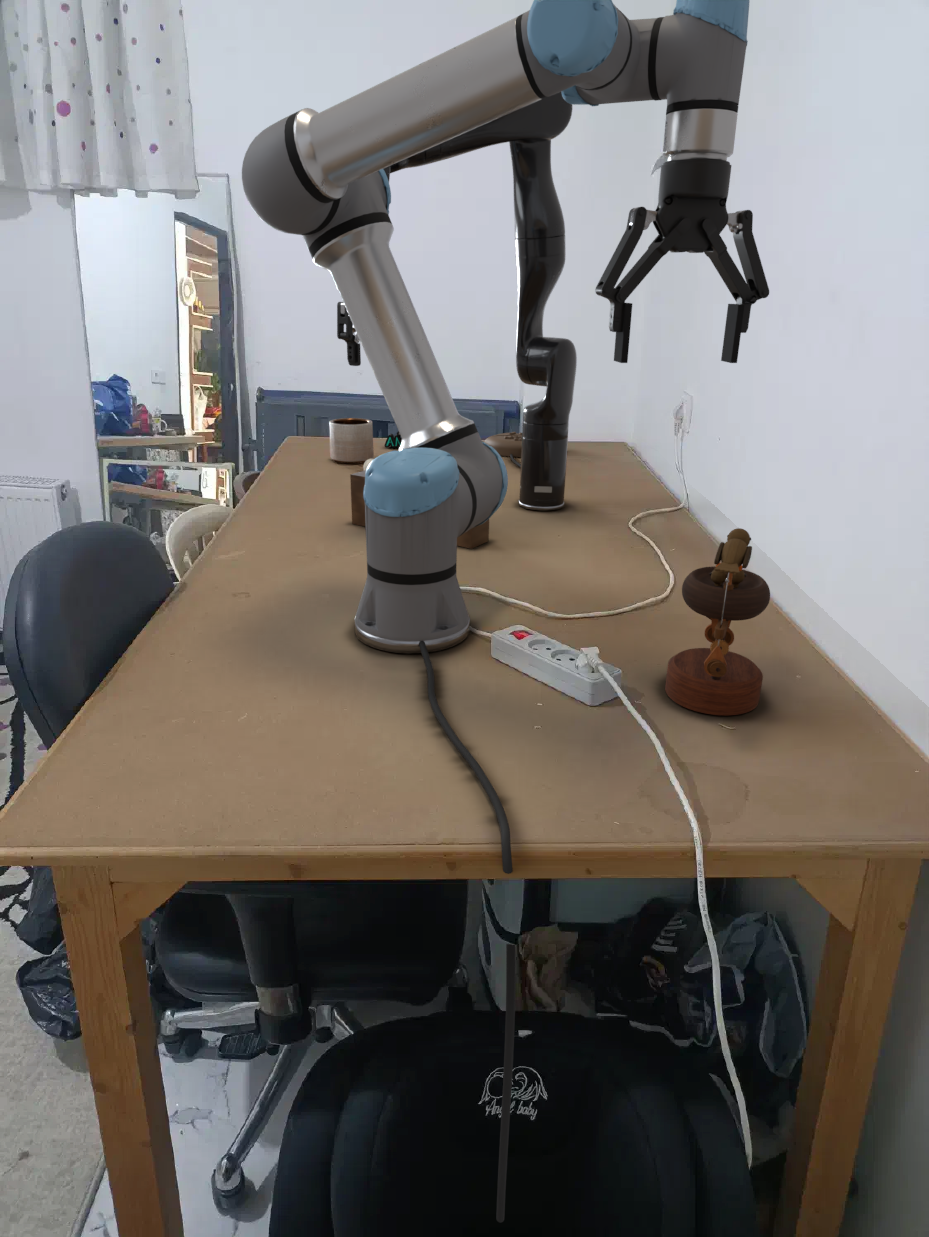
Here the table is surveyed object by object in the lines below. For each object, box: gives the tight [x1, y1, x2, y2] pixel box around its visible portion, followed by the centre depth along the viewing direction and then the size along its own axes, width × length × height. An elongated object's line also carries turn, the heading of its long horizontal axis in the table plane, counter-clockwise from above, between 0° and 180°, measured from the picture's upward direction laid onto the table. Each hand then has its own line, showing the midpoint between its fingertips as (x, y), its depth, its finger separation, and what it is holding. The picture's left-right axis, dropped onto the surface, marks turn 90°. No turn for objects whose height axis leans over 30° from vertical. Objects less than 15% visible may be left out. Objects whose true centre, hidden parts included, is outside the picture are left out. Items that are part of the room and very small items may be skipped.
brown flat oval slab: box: [483, 431, 522, 458], centre depth 222 cm, size 21×28×4 cm
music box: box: [664, 527, 771, 716], centre depth 94 cm, size 15×11×20 cm
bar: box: [349, 470, 490, 550], centre depth 154 cm, size 27×6×10 cm, turn 57°
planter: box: [328, 417, 375, 464], centre depth 212 cm, size 11×11×10 cm
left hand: (675, 362), depth 101 cm, fingers open, 13 cm apart
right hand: (370, 363), depth 150 cm, fingers open, 8 cm apart
